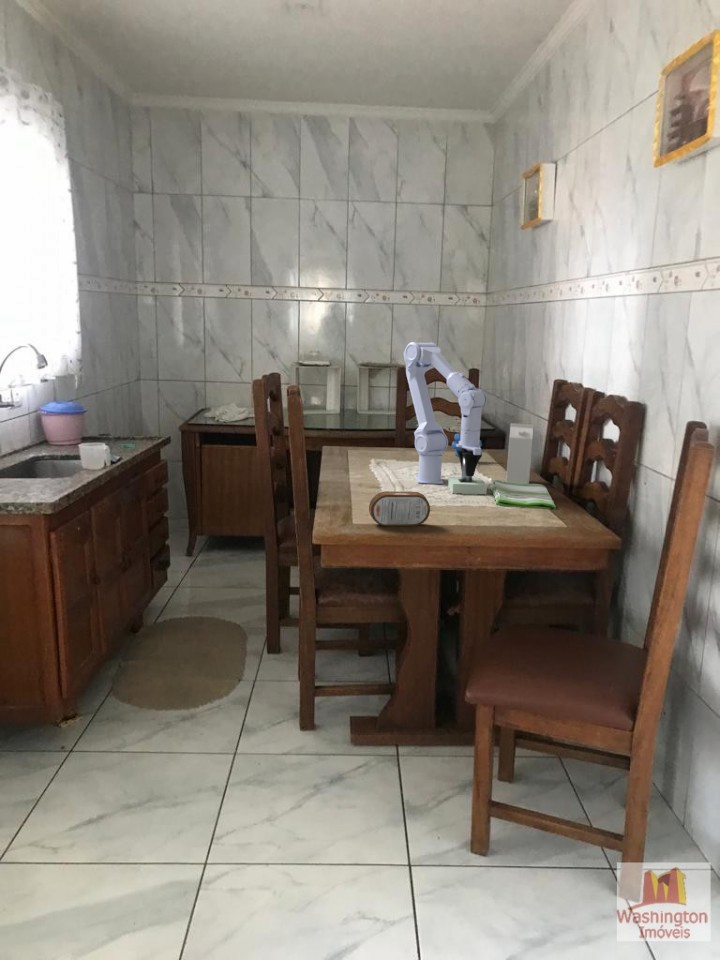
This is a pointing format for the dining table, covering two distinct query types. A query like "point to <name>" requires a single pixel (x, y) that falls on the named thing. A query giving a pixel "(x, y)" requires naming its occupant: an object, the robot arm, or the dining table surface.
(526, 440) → the milk carton
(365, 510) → the dining table surface
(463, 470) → the peg
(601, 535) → the dining table surface
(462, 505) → the dining table surface
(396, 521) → the tin
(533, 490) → the dish towel
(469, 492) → the socket
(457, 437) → the grapes
